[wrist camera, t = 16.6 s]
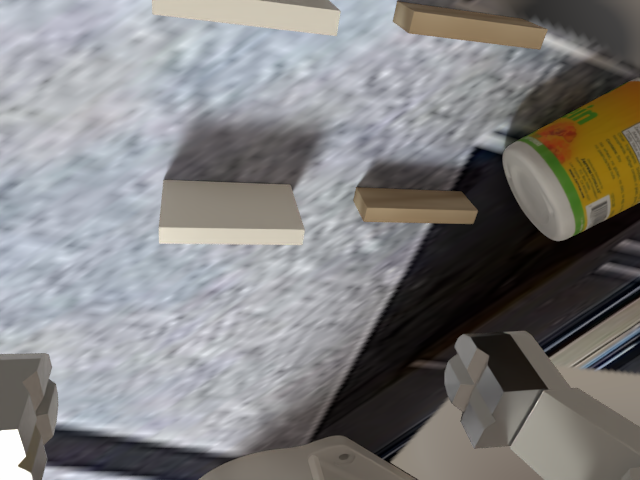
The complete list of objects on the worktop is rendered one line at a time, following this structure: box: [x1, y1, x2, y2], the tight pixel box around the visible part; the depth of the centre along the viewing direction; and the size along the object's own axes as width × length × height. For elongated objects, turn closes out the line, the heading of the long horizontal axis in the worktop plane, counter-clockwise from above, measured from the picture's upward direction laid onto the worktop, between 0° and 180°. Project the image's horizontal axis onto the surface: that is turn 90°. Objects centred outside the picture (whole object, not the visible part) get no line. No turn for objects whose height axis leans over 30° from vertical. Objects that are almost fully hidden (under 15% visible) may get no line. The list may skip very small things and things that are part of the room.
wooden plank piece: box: [353, 1, 547, 224], centre depth 23 cm, size 10×6×2 cm, turn 171°
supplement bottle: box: [502, 77, 640, 241], centre depth 24 cm, size 5×5×10 cm
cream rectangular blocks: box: [152, 0, 341, 245], centre depth 20 cm, size 10×6×4 cm, turn 171°
